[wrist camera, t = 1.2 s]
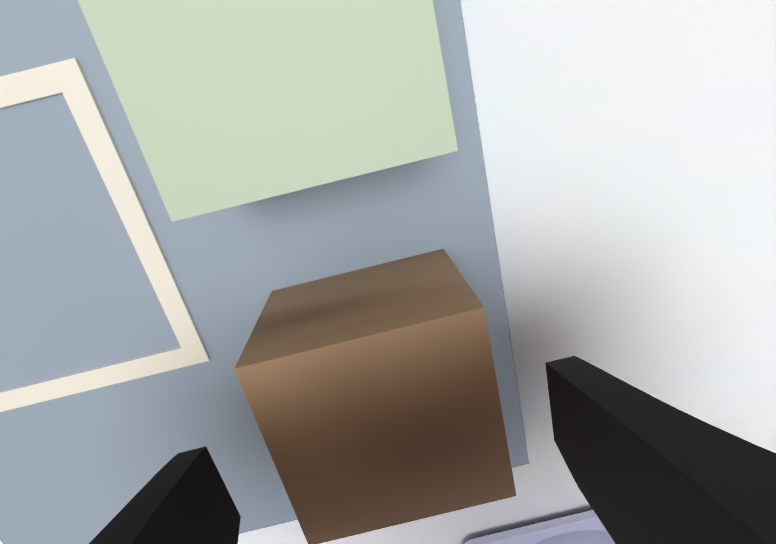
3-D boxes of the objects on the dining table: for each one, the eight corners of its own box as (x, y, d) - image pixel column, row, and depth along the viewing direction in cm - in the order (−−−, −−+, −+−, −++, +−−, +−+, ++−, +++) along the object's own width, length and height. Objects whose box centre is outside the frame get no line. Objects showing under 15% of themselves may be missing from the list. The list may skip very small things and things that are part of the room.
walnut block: (471, 392, 14) (516, 495, 10) (321, 429, 14) (309, 546, 10) (443, 248, 12) (484, 307, 8) (271, 291, 12) (234, 369, 8)
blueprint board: (518, 442, 16) (530, 465, 15) (53, 556, 16) (32, 586, 15) (403, -291, 9) (410, -346, 8) (-416, -81, 9) (-517, -107, 8)
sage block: (422, 140, 11) (457, 150, 7) (234, 186, 11) (171, 221, 7) (376, -95, 9) (391, -244, 5) (153, -39, 9) (15, -148, 5)
